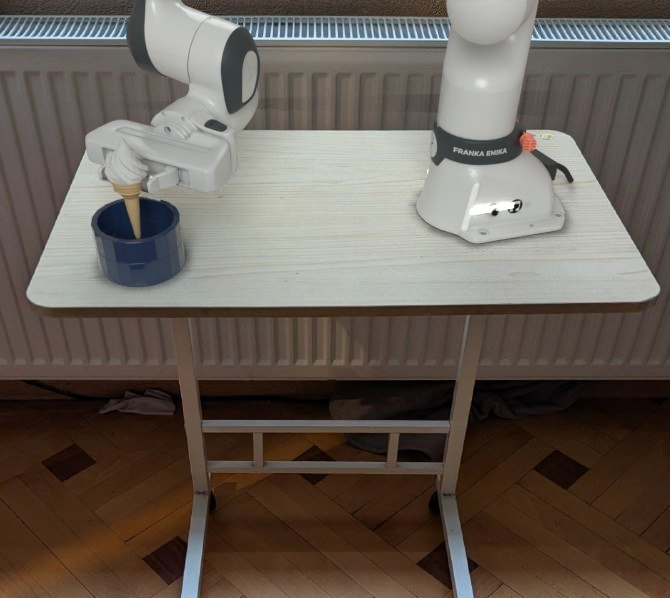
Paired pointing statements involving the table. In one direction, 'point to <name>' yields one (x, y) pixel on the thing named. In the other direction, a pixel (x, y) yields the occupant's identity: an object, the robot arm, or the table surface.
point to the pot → (139, 243)
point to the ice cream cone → (127, 179)
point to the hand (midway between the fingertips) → (124, 182)
